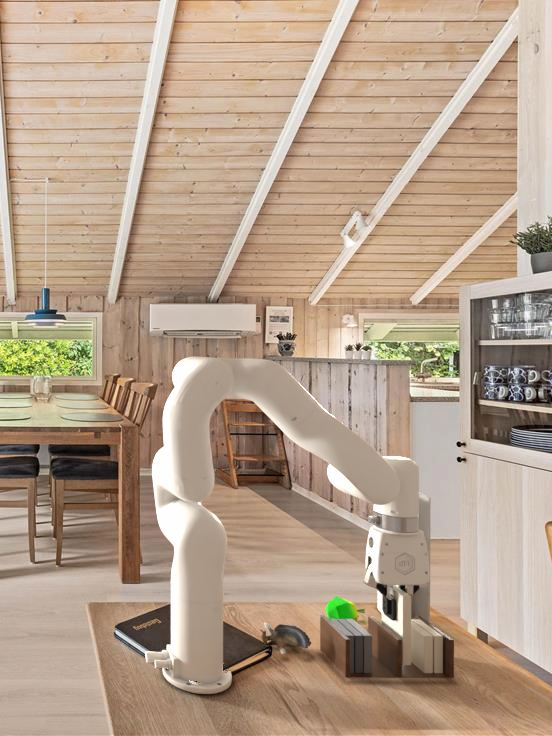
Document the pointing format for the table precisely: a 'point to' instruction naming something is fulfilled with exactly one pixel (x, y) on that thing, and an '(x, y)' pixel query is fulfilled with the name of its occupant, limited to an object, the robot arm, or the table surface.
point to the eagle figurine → (286, 638)
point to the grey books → (357, 645)
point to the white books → (426, 647)
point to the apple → (342, 609)
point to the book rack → (380, 652)
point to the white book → (401, 622)
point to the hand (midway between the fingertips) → (395, 616)
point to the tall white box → (422, 596)
